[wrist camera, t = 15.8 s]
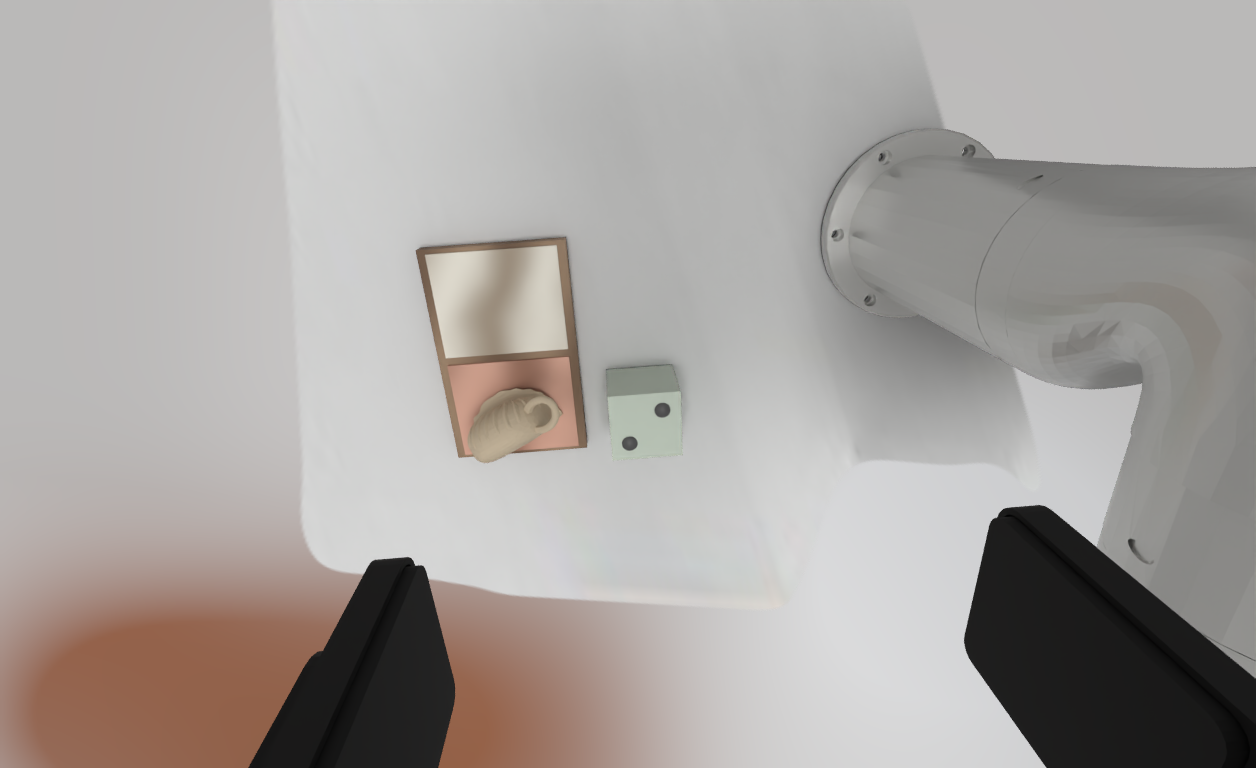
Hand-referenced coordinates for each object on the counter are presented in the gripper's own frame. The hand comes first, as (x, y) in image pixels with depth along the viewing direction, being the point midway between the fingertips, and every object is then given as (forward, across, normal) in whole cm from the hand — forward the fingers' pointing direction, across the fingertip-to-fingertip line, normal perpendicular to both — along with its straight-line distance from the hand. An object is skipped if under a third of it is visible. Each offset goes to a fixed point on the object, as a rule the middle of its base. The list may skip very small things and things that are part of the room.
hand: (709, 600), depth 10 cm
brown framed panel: (+33, +9, +7) cm, 35 cm away
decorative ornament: (+32, +9, +12) cm, 35 cm away
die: (+33, 0, +12) cm, 35 cm away
